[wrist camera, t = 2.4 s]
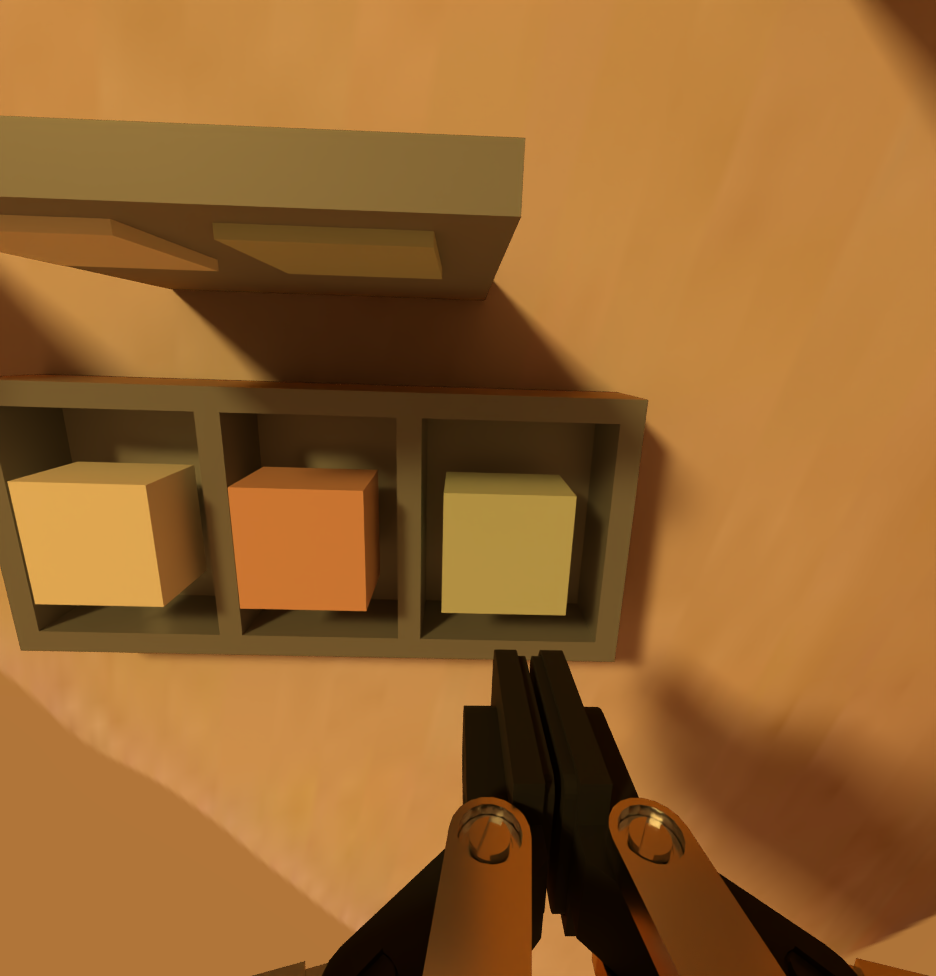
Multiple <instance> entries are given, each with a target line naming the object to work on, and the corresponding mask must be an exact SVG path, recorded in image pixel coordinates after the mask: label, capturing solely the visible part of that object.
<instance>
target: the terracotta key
mask: <svg viewBox="0 0 936 976" xmlns="http://www.w3.org/2000/svg"><path fill="white" fill-rule="evenodd" d="M228 496H229V506H230V515H231V525H232V535H233V544H234V554H235V564H236V573H237V583H238V592H239V602H240V608H241V609H288V610H335V611H367V608H368V605H369V603H370V600H371V597H372V595H373V592H374V589H375V586H376V584H377V581H378V578H379V575H380V544H379V489H378V470H366V469H330V468H293V467H262V468H260V469H259V470H257V471H255V472H253V473H252V474H250V475H248V476H246V477H245V478H243V479H241V480H239V481H238V482H236V483H234V484H232V485H231V486H229V487H228Z"/></svg>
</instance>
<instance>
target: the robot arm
mask: <svg viewBox="0 0 936 976" xmlns="http://www.w3.org/2000/svg"><path fill="white" fill-rule="evenodd" d="M462 783H463V805H462V806H461V807H460V808H459V809H458V810H457V811H456V813H455V814H454V815H453V817H452V820H451V823H450V826H449V830H448V836H447V842H446V847H445V849H444V850H443V851H442V852H441V853H440V854H439V855H438V856H437V857H436V858H435V859H433V860H432V861H431V862H430V863H429V864H428V865H427V866H426V867H425V868H424V869H423V870H422V871H421V872H420V873H419V874H418V875H416V876H415V877H414V878H413V879H412V880H411V881H410V882H409V883H408V884H407V885H406V886H405V887H404V888H403V889H402V890H400V891H399V892H398V893H397V894H396V895H395V896H394V897H393V898H392V899H391V900H390V901H389V902H388V903H387V904H386V905H385V906H383V907H382V908H381V909H380V910H379V911H378V912H377V913H376V914H375V915H374V916H373V917H372V918H371V919H370V920H369V921H367V922H366V923H365V924H364V925H363V926H362V927H361V928H360V929H359V930H358V931H357V932H356V933H355V934H354V935H353V936H352V937H350V938H349V939H348V940H347V941H346V942H345V943H344V944H343V945H342V946H341V947H340V948H339V949H338V951H337V952H336V953H335V954H334V955H333V957H332V958H331V959H330V960H329V962H328V963H326V964H323V965H320V966H316V967H312V968H309V969H305V961H304V962H300V963H297V964H293V965H290V966H286V967H282V968H279V969H275V970H272V971H268V972H264V973H261V974H257V975H253V976H532V950H533V948H534V947H535V946H536V944H537V943H538V942H539V940H540V939H541V933H542V922H543V913H544V909H545V898H546V888H547V893H548V899H549V905H550V909H551V913H552V914H561V918H562V923H563V928H564V934H565V936H576V938H577V939H578V940H579V941H580V942H582V943H583V944H584V945H585V946H586V947H587V948H588V949H589V950H590V951H591V952H592V963H593V967H594V972H595V975H596V976H927V975H923V974H919V973H915V972H911V971H906V970H903V969H899V968H894V967H891V966H887V965H882V964H878V963H874V962H870V961H866V960H862V959H858V958H856V961H855V964H854V966H852V965H848V964H847V963H846V962H845V961H844V960H843V959H842V958H841V957H840V956H839V955H838V954H836V953H835V952H834V951H833V950H831V949H830V948H829V947H828V946H826V945H825V944H824V943H822V942H821V941H819V940H818V939H816V938H815V937H813V936H812V935H810V934H809V933H807V932H806V931H804V930H803V929H801V928H800V927H798V926H797V925H795V924H794V923H792V922H791V921H789V920H788V919H786V918H785V917H783V916H782V915H780V914H779V913H777V912H776V911H774V910H773V909H771V908H770V907H768V906H767V905H765V904H764V903H763V902H761V901H760V900H758V899H757V898H755V897H754V896H752V895H751V894H749V893H748V892H746V891H745V890H743V889H742V888H740V887H739V886H737V885H736V884H734V883H733V882H731V881H730V880H728V879H727V878H725V877H724V876H722V875H721V874H719V873H718V872H717V871H716V869H715V867H714V866H713V864H712V863H711V861H710V860H709V858H708V857H707V855H706V854H705V852H704V851H703V849H702V848H701V846H700V845H699V843H698V842H697V840H696V839H695V837H694V836H693V834H692V833H691V831H690V830H689V828H688V827H687V826H686V824H685V823H684V822H683V821H682V820H681V818H680V817H679V816H678V815H676V814H675V813H674V812H673V811H671V810H670V809H669V808H667V807H665V806H663V805H661V804H659V803H658V802H656V801H652V800H648V799H645V798H639V797H638V795H637V792H636V790H635V787H634V785H633V783H632V780H631V778H630V776H629V773H628V771H627V769H626V766H625V764H624V761H623V759H622V757H621V754H620V752H619V750H618V747H617V745H616V743H615V740H614V738H613V735H612V733H611V731H610V728H609V726H608V724H607V721H606V719H605V717H604V714H603V712H602V710H601V709H600V708H599V707H584V706H583V704H582V701H581V698H580V696H579V693H578V690H577V688H576V685H575V682H574V680H573V677H572V674H571V671H570V669H569V666H568V663H567V661H566V658H565V655H564V653H563V651H562V650H540V651H539V654H538V656H531V660H530V673H529V669H528V665H527V661H526V657H525V656H518V653H517V650H505V649H494V656H493V676H492V696H491V706H464V711H463V743H462Z"/></svg>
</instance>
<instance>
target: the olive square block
mask: <svg viewBox="0 0 936 976" xmlns="http://www.w3.org/2000/svg"><path fill="white" fill-rule="evenodd" d="M576 499H577V496H576V495H575V494H574V493H573V491H572V490H571V489H570V488H569V486H568V485H567V484H566V483H565V481H564V480H563V479H562V478H561V476H560V475H548V474H512V473H476V472H446V479H445V487H444V504H443V557H442V610H441V613H477V614H524V615H566V605H567V594H568V584H569V573H570V562H571V552H572V541H573V531H574V520H575V510H576Z"/></svg>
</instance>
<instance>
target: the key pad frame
mask: <svg viewBox="0 0 936 976" xmlns="http://www.w3.org/2000/svg"><path fill="white" fill-rule="evenodd" d="M647 406H648V400H647V399H643V398H639V397H635V396H631V395H627V394H623V393H619V392H596V391H564V390H531V389H499V388H467V387H435V386H403V385H371V384H339V383H307V382H274V381H242V380H210V379H178V378H146V377H114V376H82V375H50V374H35V375H15V376H0V567H1V571H2V575H3V579H4V583H5V587H6V591H7V596H8V600H9V604H10V608H11V612H12V616H13V620H14V624H15V628H16V633H17V637H18V641H19V645H20V649H21V650H23V651H75V652H127V653H179V654H231V655H283V656H335V657H387V658H439V659H491V660H493V656H494V649H505V650H517V653H518V656H525V657H526V660H531V656H538V654H539V651H540V650H562V651H563V653H564V655H565V658H566V661H596V662H615V655H616V647H617V639H618V632H619V624H620V616H621V608H622V600H623V593H624V585H625V577H626V569H627V561H628V554H629V546H630V538H631V530H632V523H633V515H634V507H635V499H636V491H637V484H638V476H639V468H640V460H641V453H642V445H643V437H644V429H645V421H646V414H647ZM74 462H111V463H147V464H184V465H194V467H195V476H196V484H197V492H198V500H199V509H200V517H201V525H202V533H203V542H204V550H205V558H206V566H207V570H206V571H205V572H204V573H203V574H202V575H201V576H199V577H198V578H197V579H196V580H195V581H194V582H192V583H191V584H190V585H189V586H188V587H186V588H185V589H184V590H183V591H182V592H181V593H179V594H178V595H177V596H176V597H175V598H174V599H172V600H171V601H170V602H169V603H168V604H167V605H165V606H164V607H147V606H100V605H52V604H35V601H34V596H33V592H32V587H31V583H30V579H29V574H28V570H27V566H26V561H25V557H24V552H23V548H22V544H21V539H20V535H19V530H18V526H17V522H16V517H15V513H14V509H13V504H12V500H11V495H10V491H9V487H8V482H7V481H11V480H14V479H18V478H21V477H25V476H28V475H32V474H36V473H39V472H43V471H46V470H50V469H53V468H57V467H60V466H64V465H67V464H71V463H74ZM262 467H293V468H330V469H366V470H378V489H379V544H380V575H379V578H378V581H377V584H376V586H375V589H374V592H373V595H372V597H371V600H370V603H369V605H368V608H367V611H335V610H288V609H241V608H240V602H239V592H238V583H237V573H236V564H235V554H234V544H233V535H232V525H231V515H230V506H229V496H228V487H229V486H231V485H232V484H234V483H236V482H238V481H239V480H241V479H243V478H245V477H246V476H248V475H250V474H252V473H253V472H255V471H257V470H259V469H260V468H262ZM446 472H476V473H512V474H548V475H560V476H561V478H562V479H563V480H564V481H565V483H566V484H567V485H568V486H569V488H570V489H571V490H572V491H573V493H574V494H575V495H576V496H577V499H576V510H575V520H574V531H573V541H572V552H571V562H570V573H569V584H568V594H567V605H566V615H524V614H477V613H441V610H442V557H443V504H444V487H445V479H446Z"/></svg>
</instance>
